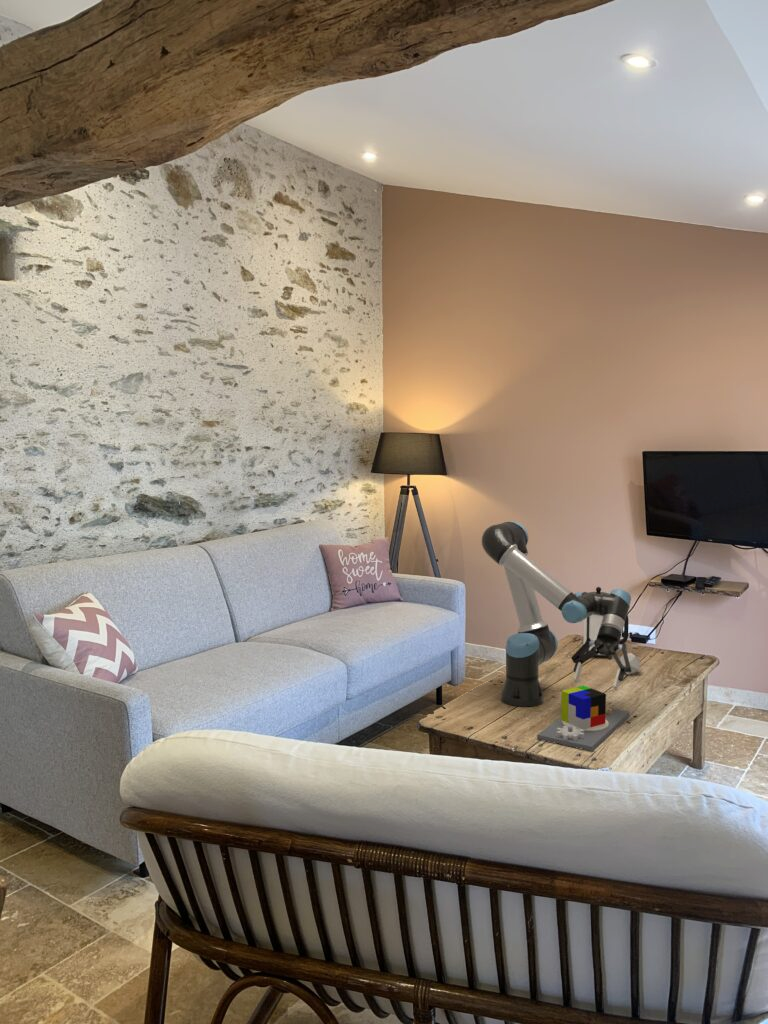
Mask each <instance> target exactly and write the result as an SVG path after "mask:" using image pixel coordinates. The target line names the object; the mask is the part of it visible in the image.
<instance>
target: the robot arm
mask: <svg viewBox="0 0 768 1024" xmlns="http://www.w3.org/2000/svg"><path fill="white" fill-rule="evenodd" d="M528 543H529V534H528V531H527V529H526V527H525V526H523V525H522V524H521V523H519V522H516V521H504V522H502V523H497V524H493V525H490V526H489V527H487V528H486V529H485V530H484V532H483V533H482V536H481V546H482V548H483V550H484V552H485V553H486V554H487V556H488V557H489V558H491V559H492V560H493V561H494V562H495V563H497V565H499V566H503V567H504V571H505V575H506V578H507V582H508V586H509V590H510V594H511V597H512V602H513V606H514V608H515V613H516V616H517V619H518V622H519V627H518V629H517V633H514V634H512V635H510V636H509V637H507V638H506V642H505V643H506V645H505V681H504V683H503V686H502V688H501V692H500V700H501V701H502V702H503V703H504V704H506V705H508V706H509V705H510V706H513V707H514V706H515V707H522V708H523V707H534V706H538V705H541V704H542V703H543V702H544V694H543V690H542V687H541V684H540V681H539V668H540V667H539V666H541V665H542V664H543V663H545V662H547V661H549V660H551V659H552V658H553V657H554V655H555V654H556V653H557V650H558V646H559V645H558V638H557V636H556V634H555V633H554V632H553V631H552V630H550V628H549V625H548V623H547V622H545V621H544V620H543V618H542V615H541V614H542V613H541V611H540V607H539V604H538V599H537V595H536V592H537V593H538V594H539V595H540V596H541V597H543V598H545V599H546V600H547V601H548V602H549V603H550V604H552V605H553V606H554V607H556V609H558V610H559V611H560V612H561V615H562V618H563V619H564V620H565V621H566V622H567V623H570V624H577V623H580V622H584V619H585V618H587V617H589V616H591V615H601V616H603V619H602V622H601V626H600V629H599V632H598V635H597V639H596V640H595V641H594V640H591V639H590V638H587V640H586V642H585V644H584V645H583V644H582V645H581V646H580V648H579V649H578V650H577V651H576V652H575V653H574V654H573V655H572V656H571V658H570V659H571V661H572V663H573V664H574V667H573V672H574V676H573V681H574V683H576V684H578V683H579V679H580V676H581V672H582V669H583V665H582V664H584V663H585V662H587V661H589V660H590V659H592V658H593V657H594V656H598V655H597V654H599V653H600V654H601V655H600V656H605V655H607V656H609V655H611V656H612V658H613V659H614V661H615V662H616V665H617V667H618V666H619V667H618V668H617V672H616V674H615V679H614V681H613V685H612V687H613V690H614V691H618V688H619V685H620V682H622V681H624V678H625V674H626V672H631V671H632V670H631V666H630V663H629V659H628V655H627V654H628V647H627V644H626V642H625V643H623V644H622V645H619V641H621V638H622V633H623V632H624V624H625V620H626V617H627V615H628V612H629V609H630V608H631V607H630V606H631V600H632V596H631V595H630V593H629V592H628V591H626V590H625V589H622V588H615V589H612V590H611V591H610V592H609V593H608V594H609V595H602V594H594V593H589V592H587V591H581V592H580V591H577V592H575V593H574V592H572V590H570V589H569V588H567V587H566V585H563V583H561V582H560V581H559V580H557V579H556V578H555V577H553V576H552V575H551V574H550V573H548V572H547V571H546V570H545V569H543V568H542V567H541V566H540V565H538V564H537V563H536V562H535V561H533V560H532V559H531V558H530V557H528V554H529V552H528V551H529V550H528V548H527V545H528ZM535 591H536V592H535ZM593 644H595V646H594V647H592V649H591V650H589V651H588V652H586V651H587V650H588V649H589V648H590V646H592V645H593ZM596 649H597V650H596ZM618 650H620V651H621V652H622V655H623V657H624V660H625V664H626V667H624V666H623V665H622V663H621V661H620V659H621V658H619V655H618V654H617V651H618Z"/></svg>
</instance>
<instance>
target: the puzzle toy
mask: <svg viewBox="0 0 768 1024" xmlns="http://www.w3.org/2000/svg"><path fill="white" fill-rule="evenodd" d="M606 700H607V694H606V693H605V692H602V691H599V690H597V689H594V688H592V687H589V686H586V685H582V686H576V687H573V688H572V687H571V688H568V689H564V690H561V701H560V702H561V703H560V704H561V705H560V707H561V709H560V710H561V711H560V713H561V716H560V717H561V720H562V721H565V722H567V723H569V724H571V725H574V726H576V727H578V728H581V729H587V728H590V727H594V726H598V725H602V724H605V717H606V706H607V705H606V704H607V701H606Z"/></svg>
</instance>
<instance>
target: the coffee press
mask: <svg viewBox="0 0 768 1024" xmlns="http://www.w3.org/2000/svg"><path fill="white" fill-rule="evenodd" d="M588 593H594V594H602V595H609V594H610V593H608V592H606V591H605V592H603V591H602V588H601V587H600V586H596V588H595V591H591V592H588ZM602 619H603V616H601V615H591V616H589V617H587V618H585V619H584V620H583V634H582V635H583V636H582V637H583V641H582V642H583V643H582V646H583V645H584V644H585V642H586V640H587V638H590V639H591V640H594V641H595V640H596V639H597V635H598V632H599V629H600V626H601V622H602ZM628 638H629V616H628V614H627V617H626V620H625V624H624V627H623V637H622V639H620V641H619V645H622V644H623V643H625V644H626V643H627V641H628ZM594 646H595V644H593V645H592V646H590V648H589V649H588V650H587V651H586V652H588V651H589V650H591V649H592V647H594ZM596 650H597V649H596ZM586 652H585V653H586ZM596 656H602V655H601V654H600V653H599V654H597V655H596ZM604 656H605V657H606V659H607V660H612V658H613V656H612V654H611V655H609V656H607V655H604Z"/></svg>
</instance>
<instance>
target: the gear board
mask: <svg viewBox="0 0 768 1024" xmlns="http://www.w3.org/2000/svg"><path fill="white" fill-rule="evenodd" d="M629 717H630V711H626V710H620V709H616V708H612V706H611V705H606V717H605V724H602V725H598V726H594V727H590V728H587V729H581V728H578V727H576V726H574V725H571V724H569V723H567V722H565V721H562V720H561V716H559V717H558V718H557V719H556V720H554V721H553V722H551V723H550V724H549V725H548V726H546V727H545V728H544V729H543V730H541V731H540V732H539V733H538V734H537V735H536V736H537V737H536V739H537V740H538V739H541V740H540V741H542V740H545V741H544V742H547V741H550V742H549V743H551V742H555V743H554V744H556V743H559V744H558V745H560V744H564V745H563V746H565V745H568V746H567V747H569V746H573V747H572V748H574V747H577V748H576V749H578V748H582V749H581V750H583V749H585V750H584V751H587V750H589V751H588V752H593V751H594V750H596V748H598V746H600V745H601V744H602V743H603V742H604V741H605V740H606V739H607V738H608V737H609V736H611V734H612V733H613V732H614V731H616V729H618V728H619V727H620V726H621V725H622V724H623V723H624V722H625V721H626V720H627V719H628V718H629Z"/></svg>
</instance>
